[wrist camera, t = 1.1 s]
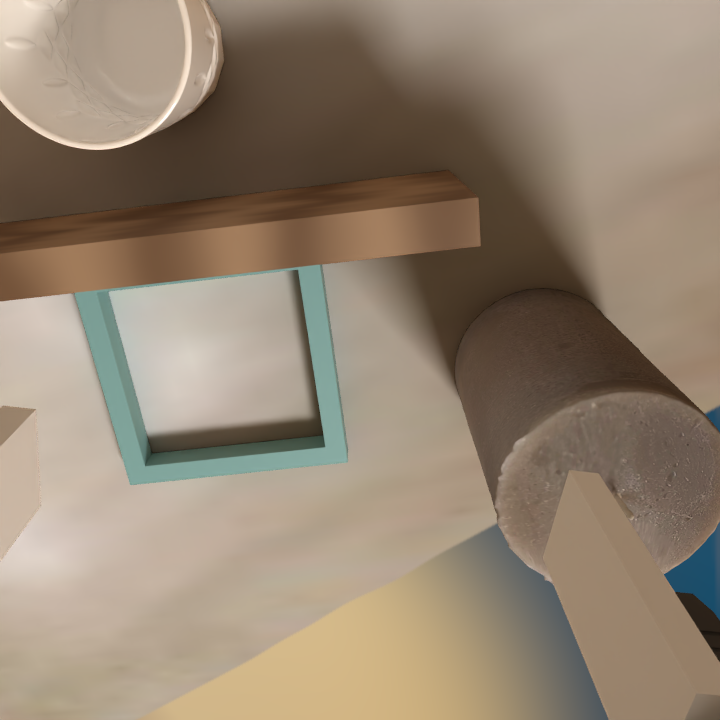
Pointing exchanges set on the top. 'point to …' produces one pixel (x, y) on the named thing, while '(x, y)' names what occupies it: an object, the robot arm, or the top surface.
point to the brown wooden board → (237, 235)
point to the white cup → (106, 66)
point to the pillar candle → (583, 426)
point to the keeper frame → (222, 458)
